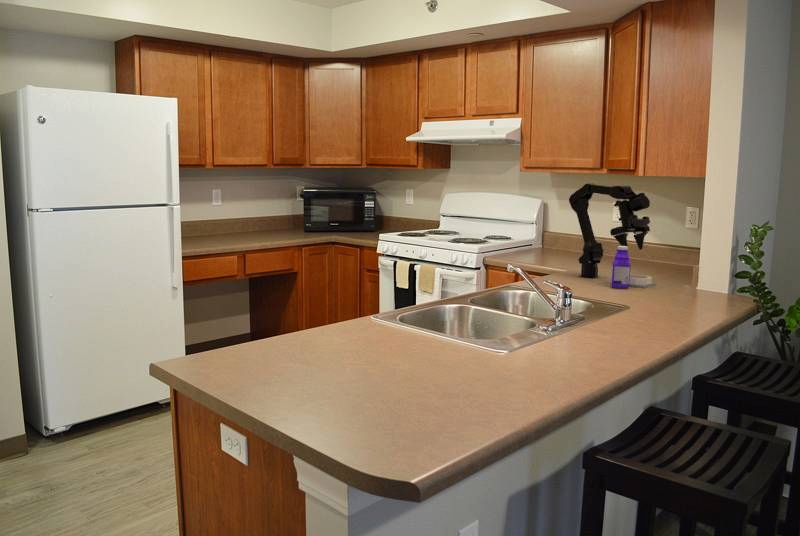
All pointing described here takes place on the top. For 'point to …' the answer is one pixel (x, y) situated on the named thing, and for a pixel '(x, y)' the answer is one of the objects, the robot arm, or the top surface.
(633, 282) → the dock
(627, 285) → the bottle
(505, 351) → the top surface
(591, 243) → the robot arm
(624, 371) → the top surface
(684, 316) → the top surface
